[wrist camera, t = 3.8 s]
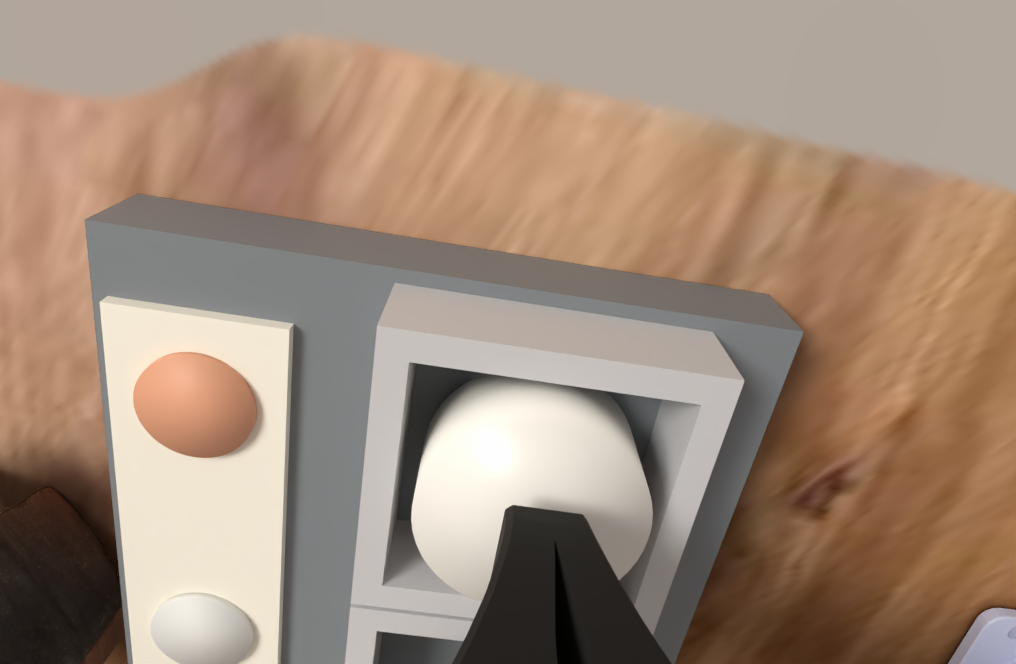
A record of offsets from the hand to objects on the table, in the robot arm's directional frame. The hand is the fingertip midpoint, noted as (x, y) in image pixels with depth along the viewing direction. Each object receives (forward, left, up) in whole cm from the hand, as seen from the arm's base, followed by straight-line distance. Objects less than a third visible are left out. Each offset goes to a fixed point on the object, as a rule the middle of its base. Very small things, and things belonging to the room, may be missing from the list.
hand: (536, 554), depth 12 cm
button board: (+2, +6, -5) cm, 9 cm away
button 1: (0, 0, -3) cm, 3 cm away
